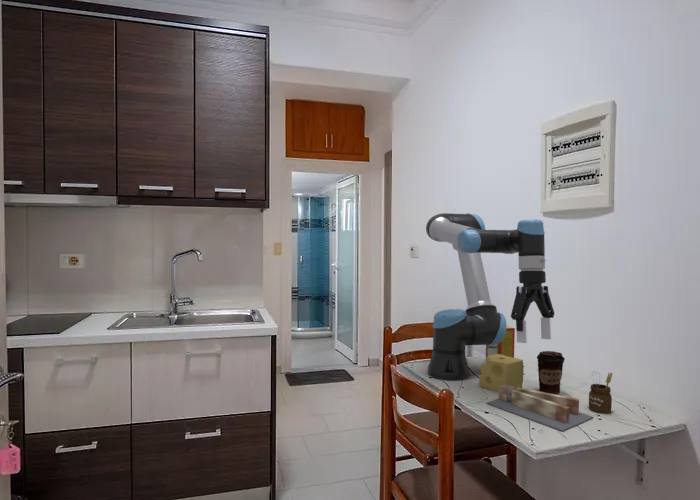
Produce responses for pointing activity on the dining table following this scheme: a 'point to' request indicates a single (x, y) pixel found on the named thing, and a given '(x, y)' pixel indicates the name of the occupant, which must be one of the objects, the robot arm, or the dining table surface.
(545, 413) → the arm
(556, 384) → the coffee cup
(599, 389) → the utensil holder
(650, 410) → the dining table surface
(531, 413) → the mat
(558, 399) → the tongs swing arm
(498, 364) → the cheese
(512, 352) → the baking soda box
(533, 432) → the dining table surface
